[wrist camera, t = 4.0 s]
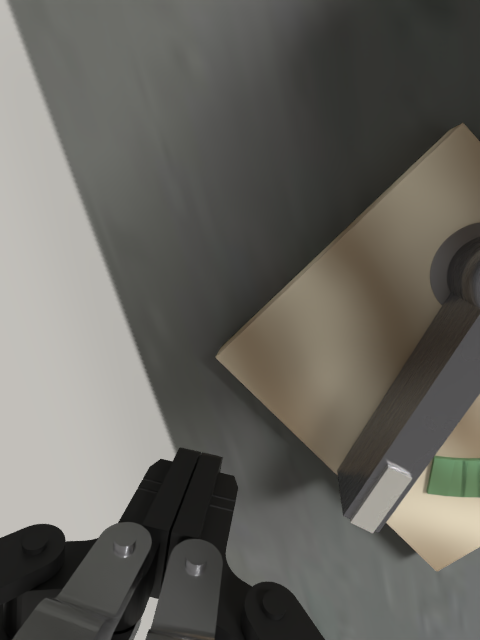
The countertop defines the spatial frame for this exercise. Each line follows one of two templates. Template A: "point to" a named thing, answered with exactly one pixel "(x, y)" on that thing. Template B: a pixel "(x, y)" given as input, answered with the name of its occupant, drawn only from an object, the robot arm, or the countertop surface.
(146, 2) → the countertop surface
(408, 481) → the tuning lever
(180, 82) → the countertop surface
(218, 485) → the robot arm
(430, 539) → the board
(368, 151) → the countertop surface
